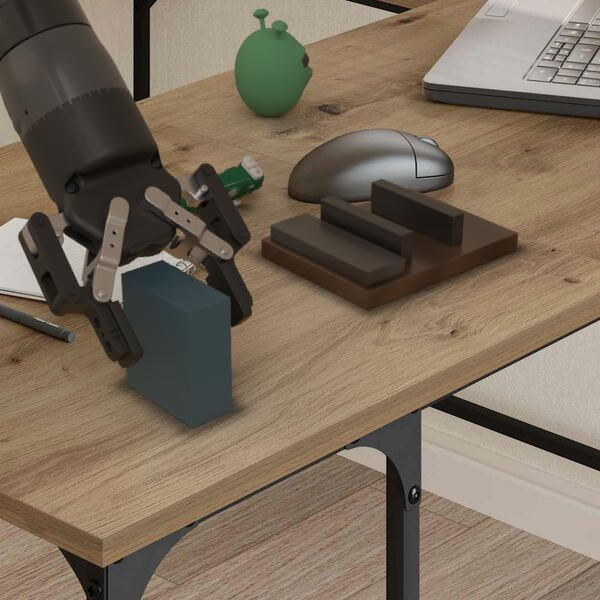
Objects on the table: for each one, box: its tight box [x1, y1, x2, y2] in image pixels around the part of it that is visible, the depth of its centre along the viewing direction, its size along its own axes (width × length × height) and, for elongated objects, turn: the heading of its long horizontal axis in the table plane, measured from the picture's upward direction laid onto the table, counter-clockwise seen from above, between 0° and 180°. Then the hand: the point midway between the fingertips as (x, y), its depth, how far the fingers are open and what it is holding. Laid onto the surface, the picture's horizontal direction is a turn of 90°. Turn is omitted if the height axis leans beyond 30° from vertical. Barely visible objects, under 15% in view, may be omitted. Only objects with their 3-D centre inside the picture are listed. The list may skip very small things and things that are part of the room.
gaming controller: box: [180, 154, 265, 216], centre depth 116 cm, size 9×4×6 cm
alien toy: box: [234, 8, 314, 117], centre depth 136 cm, size 7×8×10 cm
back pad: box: [120, 259, 233, 429], centre depth 88 cm, size 3×7×8 cm, turn 41°
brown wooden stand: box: [260, 178, 519, 311], centre depth 109 cm, size 16×12×4 cm
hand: (189, 341), depth 87 cm, fingers open, 8 cm apart
